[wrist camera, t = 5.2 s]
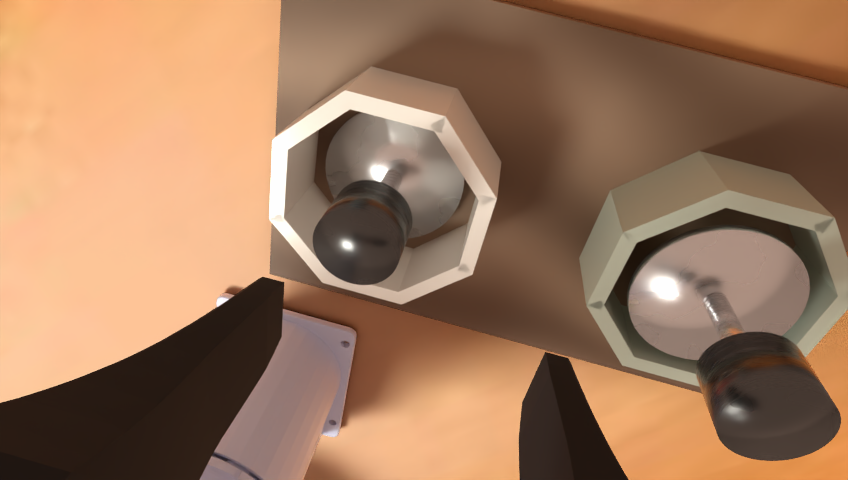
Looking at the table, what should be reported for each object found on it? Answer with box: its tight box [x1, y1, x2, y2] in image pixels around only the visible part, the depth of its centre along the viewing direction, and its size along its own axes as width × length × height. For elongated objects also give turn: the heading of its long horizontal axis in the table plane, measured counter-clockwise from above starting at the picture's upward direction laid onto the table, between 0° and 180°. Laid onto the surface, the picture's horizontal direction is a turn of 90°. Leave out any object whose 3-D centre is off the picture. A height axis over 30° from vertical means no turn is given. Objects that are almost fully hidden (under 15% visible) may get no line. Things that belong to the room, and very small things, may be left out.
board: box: [270, 0, 848, 393], centre depth 22 cm, size 15×24×1 cm, turn 78°
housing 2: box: [579, 151, 848, 387], centre depth 20 cm, size 8×8×3 cm
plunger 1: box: [313, 112, 465, 285], centre depth 20 cm, size 6×6×6 cm
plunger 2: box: [627, 225, 841, 461], centre depth 17 cm, size 6×6×6 cm
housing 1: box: [269, 66, 501, 305], centre depth 21 cm, size 8×8×3 cm
